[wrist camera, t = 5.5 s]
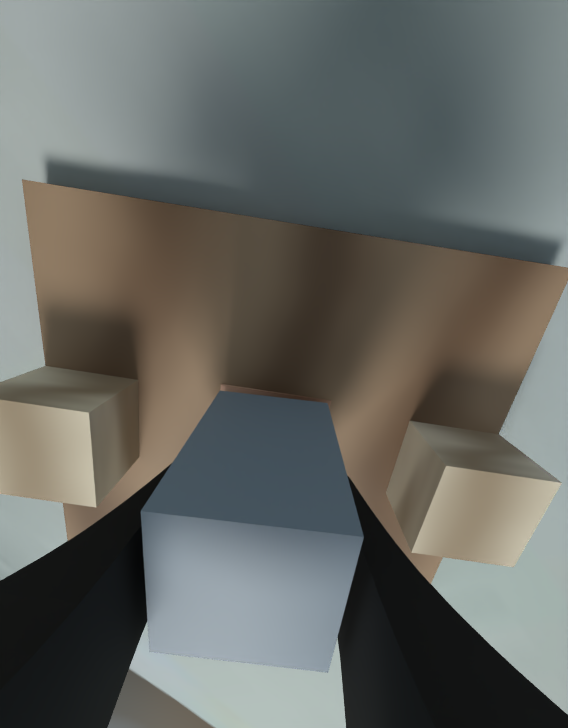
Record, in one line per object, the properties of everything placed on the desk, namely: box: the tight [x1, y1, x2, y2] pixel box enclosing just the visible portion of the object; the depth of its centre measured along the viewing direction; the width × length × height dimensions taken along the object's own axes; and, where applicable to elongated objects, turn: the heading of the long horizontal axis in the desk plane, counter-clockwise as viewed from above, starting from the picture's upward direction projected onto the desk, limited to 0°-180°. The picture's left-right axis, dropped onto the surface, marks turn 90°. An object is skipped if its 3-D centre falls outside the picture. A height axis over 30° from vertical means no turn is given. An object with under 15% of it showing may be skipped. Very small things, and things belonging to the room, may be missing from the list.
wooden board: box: [0, 180, 568, 584], centre depth 12 cm, size 20×18×4 cm
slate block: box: [141, 391, 364, 672], centre depth 9 cm, size 4×4×6 cm
